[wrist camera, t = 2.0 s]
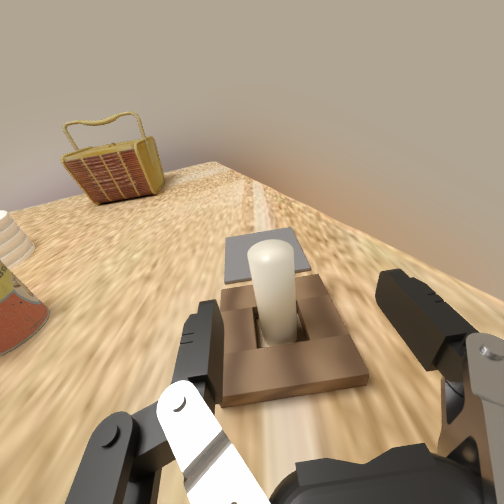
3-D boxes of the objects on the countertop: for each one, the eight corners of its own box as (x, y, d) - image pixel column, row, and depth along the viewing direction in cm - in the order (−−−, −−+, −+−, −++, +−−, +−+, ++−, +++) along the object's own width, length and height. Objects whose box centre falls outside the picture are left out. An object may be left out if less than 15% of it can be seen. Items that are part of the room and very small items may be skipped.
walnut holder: (221, 407, 24) (215, 397, 23) (224, 300, 38) (221, 289, 36) (366, 385, 24) (369, 373, 23) (317, 285, 37) (318, 273, 36)
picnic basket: (171, 180, 110) (146, 109, 93) (159, 198, 89) (124, 110, 72) (113, 190, 110) (77, 121, 93) (87, 211, 88) (34, 126, 72)
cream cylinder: (265, 352, 29) (248, 270, 21) (260, 322, 33) (245, 243, 25) (301, 346, 29) (299, 261, 21) (292, 317, 33) (288, 236, 25)
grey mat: (225, 284, 41) (224, 281, 40) (226, 239, 54) (225, 237, 54) (310, 270, 41) (310, 267, 40) (291, 229, 54) (290, 227, 53)
